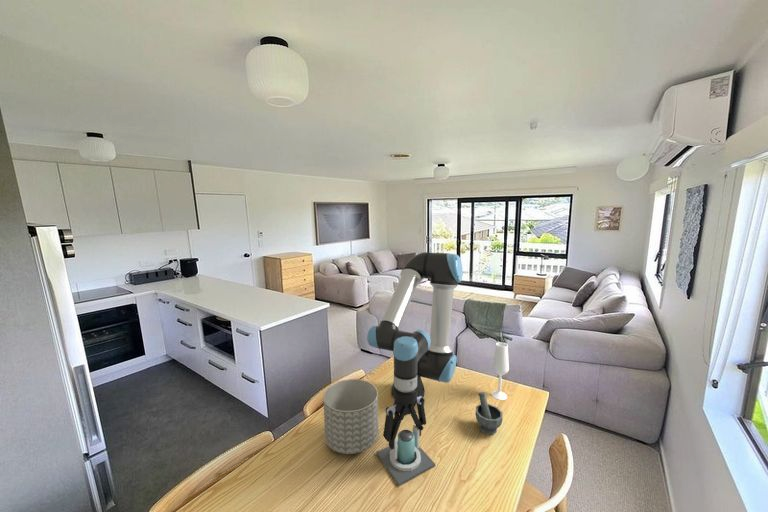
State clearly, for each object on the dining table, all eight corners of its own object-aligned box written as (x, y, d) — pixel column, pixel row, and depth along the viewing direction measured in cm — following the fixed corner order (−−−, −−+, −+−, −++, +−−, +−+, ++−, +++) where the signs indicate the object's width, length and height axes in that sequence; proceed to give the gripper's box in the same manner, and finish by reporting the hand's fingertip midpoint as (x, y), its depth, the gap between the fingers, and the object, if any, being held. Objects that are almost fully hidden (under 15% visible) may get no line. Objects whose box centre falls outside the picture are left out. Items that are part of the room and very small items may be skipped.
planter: (386, 429, 111) (385, 384, 108) (364, 469, 93) (364, 417, 91) (341, 417, 118) (340, 375, 115) (314, 452, 100) (312, 403, 98)
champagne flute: (508, 393, 132) (511, 343, 129) (505, 401, 127) (508, 349, 124) (493, 389, 136) (495, 340, 133) (489, 396, 130) (492, 345, 127)
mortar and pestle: (507, 435, 107) (509, 405, 106) (484, 440, 105) (486, 409, 103) (489, 415, 118) (490, 387, 117) (468, 419, 116) (469, 391, 114)
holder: (376, 454, 99) (376, 449, 99) (410, 438, 106) (410, 433, 106) (399, 486, 87) (399, 481, 87) (435, 466, 94) (435, 461, 94)
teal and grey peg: (394, 455, 98) (394, 432, 96) (408, 448, 100) (408, 426, 99) (403, 467, 93) (403, 443, 92) (417, 460, 96) (418, 437, 94)
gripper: (383, 403, 85) (383, 473, 88) (438, 382, 95) (437, 445, 98) (370, 390, 91) (371, 455, 94) (424, 372, 102) (423, 431, 105)
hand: (405, 450), depth 96 cm, fingers open, 8 cm apart
